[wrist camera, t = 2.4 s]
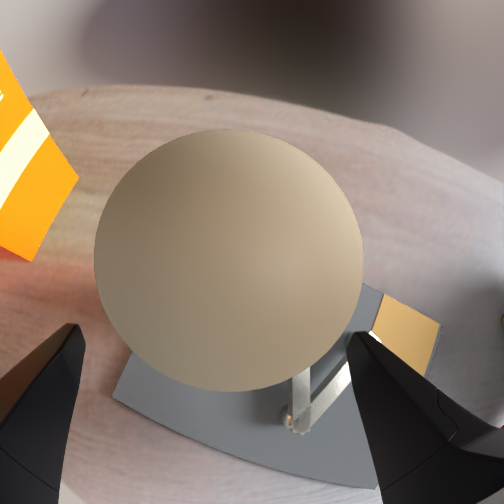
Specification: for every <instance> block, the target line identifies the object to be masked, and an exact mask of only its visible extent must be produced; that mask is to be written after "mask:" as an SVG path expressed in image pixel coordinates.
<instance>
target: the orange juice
mask: <svg viewBox="0 0 504 504" xmlns="http://www.w3.org/2000/svg"><path fill="white" fill-rule="evenodd" d="M78 178H79V177H78V176H77V175H76V173H75V172H74V170H73V169H72V168H71V166H70V165H69V163H68V162H67V160H66V159H65V157H64V156H63V155H62V153H61V152H60V150H59V149H58V147H57V146H56V144H55V143H54V141H53V140H52V138H51V137H50V135H49V132H48V130H47V129H46V127H45V126H44V124H43V123H42V121H41V119H40V118H39V116H38V114H37V113H36V111H35V109H33V108H32V106H31V105H30V103H29V101H28V99H27V98H26V96H25V95H24V93H23V91H22V89H21V87H20V86H19V84H18V82H17V80H16V78H15V77H14V75H13V73H12V71H11V69H10V67H9V66H8V64H7V62H6V60H5V58H4V56H3V54H2V52H1V50H0V246H2V247H4V248H6V249H8V250H10V251H11V252H13V253H15V254H17V255H19V256H21V257H23V258H25V259H27V260H29V261H31V262H32V260H33V258H34V256H35V254H36V252H37V250H38V248H39V246H40V244H41V242H42V240H43V238H44V236H45V234H46V232H47V230H48V228H49V227H50V225H51V223H52V221H53V219H54V218H55V216H56V214H57V212H58V211H59V209H60V207H61V206H62V204H63V202H64V201H65V199H66V197H67V196H68V194H69V192H70V191H71V189H72V188H73V186H74V185H75V183H76V182H77V180H78Z"/></svg>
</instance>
